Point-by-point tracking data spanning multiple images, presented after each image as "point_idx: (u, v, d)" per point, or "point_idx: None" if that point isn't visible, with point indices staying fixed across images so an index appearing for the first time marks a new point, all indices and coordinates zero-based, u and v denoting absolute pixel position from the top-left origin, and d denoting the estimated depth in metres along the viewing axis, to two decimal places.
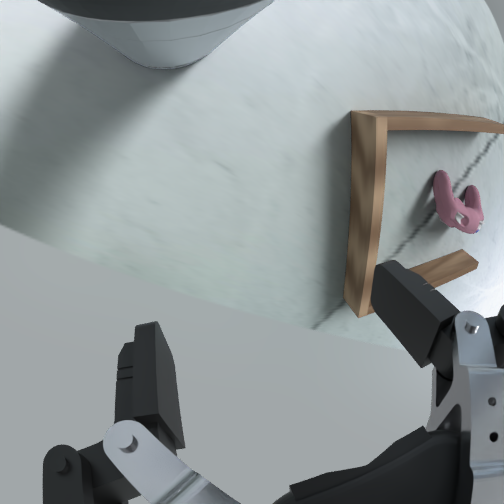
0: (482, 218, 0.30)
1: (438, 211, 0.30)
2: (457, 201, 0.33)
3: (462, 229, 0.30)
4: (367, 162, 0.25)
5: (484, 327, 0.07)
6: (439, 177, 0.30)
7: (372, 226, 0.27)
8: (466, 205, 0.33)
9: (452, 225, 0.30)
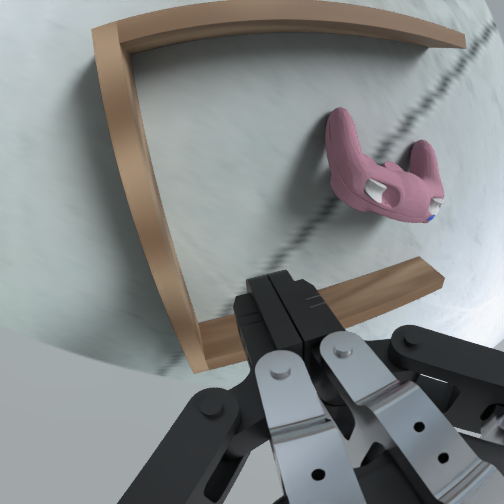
0: (440, 193, 0.18)
1: (332, 181, 0.17)
2: (389, 167, 0.20)
3: (388, 215, 0.17)
4: None
5: (359, 353, 0.07)
6: (332, 119, 0.17)
7: (139, 226, 0.14)
8: None
9: (363, 207, 0.17)
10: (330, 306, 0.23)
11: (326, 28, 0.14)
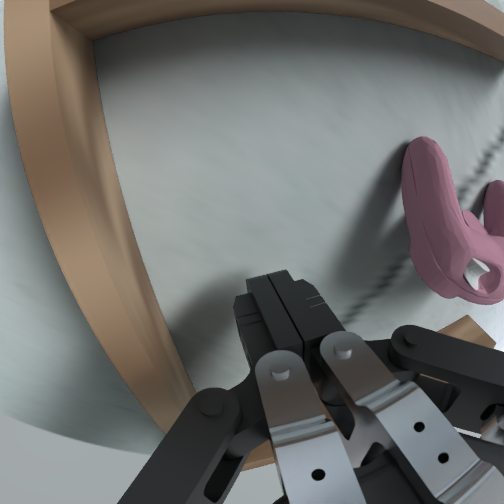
0: None
1: (415, 254, 0.11)
2: (468, 219, 0.13)
3: (480, 301, 0.10)
4: None
5: (359, 353, 0.07)
6: (417, 155, 0.11)
7: (115, 357, 0.08)
8: (488, 227, 0.14)
9: (454, 294, 0.10)
10: None
11: (418, 19, 0.07)
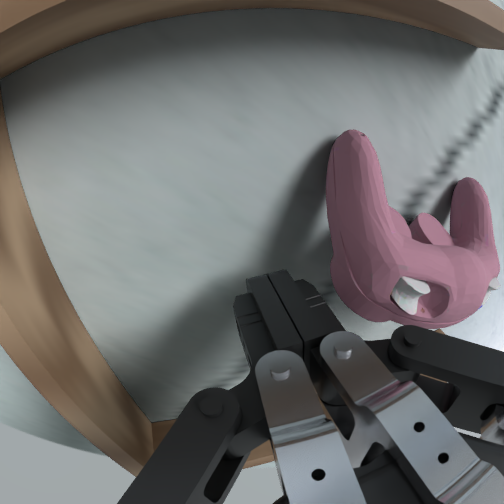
0: (496, 272, 0.10)
1: (334, 270, 0.10)
2: (425, 224, 0.12)
3: (424, 326, 0.09)
4: None
5: (359, 353, 0.07)
6: (340, 152, 0.10)
7: (20, 365, 0.07)
8: (453, 232, 0.13)
9: (384, 318, 0.09)
10: None
11: None
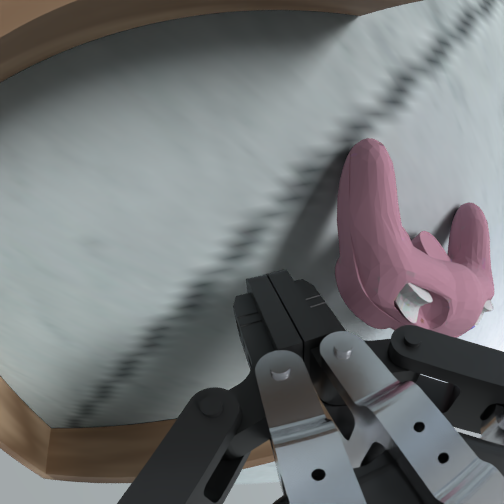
0: (491, 294, 0.10)
1: (340, 271, 0.10)
2: (426, 242, 0.13)
3: None
4: None
5: (359, 353, 0.07)
6: (357, 157, 0.10)
7: None
8: (451, 253, 0.13)
9: (384, 325, 0.09)
10: None
11: (43, 45, 0.05)
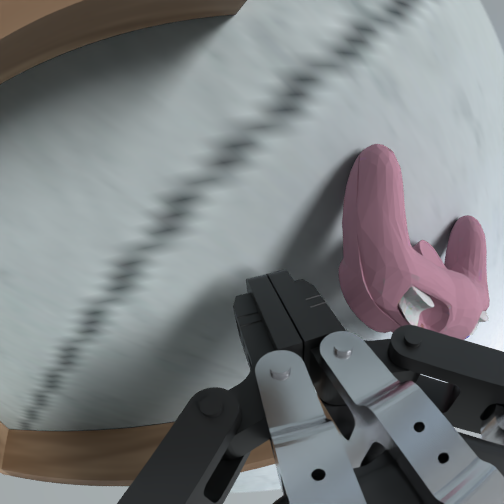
0: (486, 305, 0.11)
1: (344, 273, 0.10)
2: (425, 250, 0.13)
3: None
4: None
5: (359, 353, 0.07)
6: (366, 161, 0.10)
7: None
8: (448, 264, 0.14)
9: (385, 328, 0.09)
10: (111, 457, 0.14)
11: None
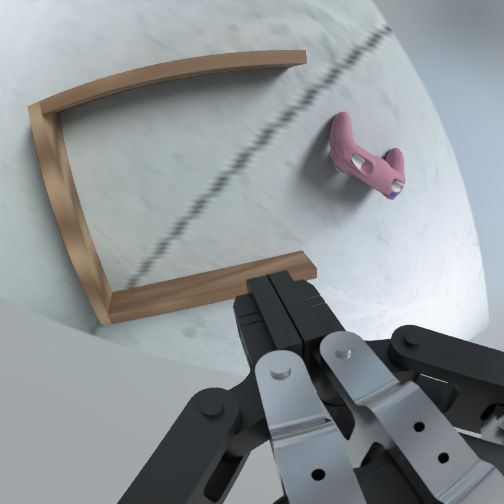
0: (401, 179, 0.28)
1: (331, 152, 0.27)
2: None
3: (364, 179, 0.26)
4: None
5: (359, 353, 0.07)
6: (337, 117, 0.27)
7: (57, 219, 0.22)
8: None
9: (348, 170, 0.26)
10: (203, 284, 0.31)
11: (173, 78, 0.21)
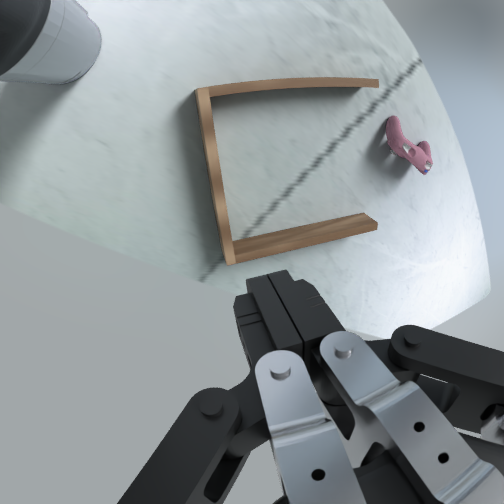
0: (430, 161, 0.39)
1: (389, 142, 0.38)
2: None
3: (410, 160, 0.38)
4: (201, 125, 0.32)
5: (359, 353, 0.07)
6: (391, 119, 0.38)
7: (212, 176, 0.34)
8: None
9: (400, 154, 0.38)
10: (304, 233, 0.42)
11: None
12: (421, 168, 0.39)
